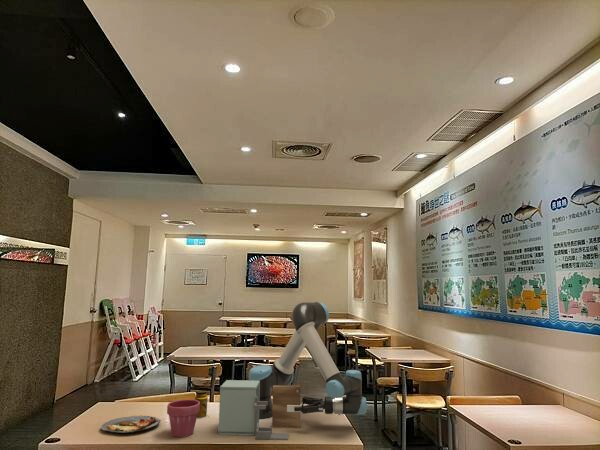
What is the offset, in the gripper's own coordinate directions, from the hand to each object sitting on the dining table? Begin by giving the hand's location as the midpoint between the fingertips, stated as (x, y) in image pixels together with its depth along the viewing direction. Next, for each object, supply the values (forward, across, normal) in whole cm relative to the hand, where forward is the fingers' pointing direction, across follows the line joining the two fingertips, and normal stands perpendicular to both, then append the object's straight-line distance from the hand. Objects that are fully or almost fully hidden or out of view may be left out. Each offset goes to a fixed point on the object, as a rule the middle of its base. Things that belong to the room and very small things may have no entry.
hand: (287, 404), depth 196 cm
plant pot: (+46, -13, -10) cm, 48 cm away
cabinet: (+14, -9, -10) cm, 19 cm away
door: (+1, 0, -10) cm, 10 cm away
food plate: (+72, -6, -10) cm, 73 cm away
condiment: (+46, +13, -10) cm, 49 cm away
